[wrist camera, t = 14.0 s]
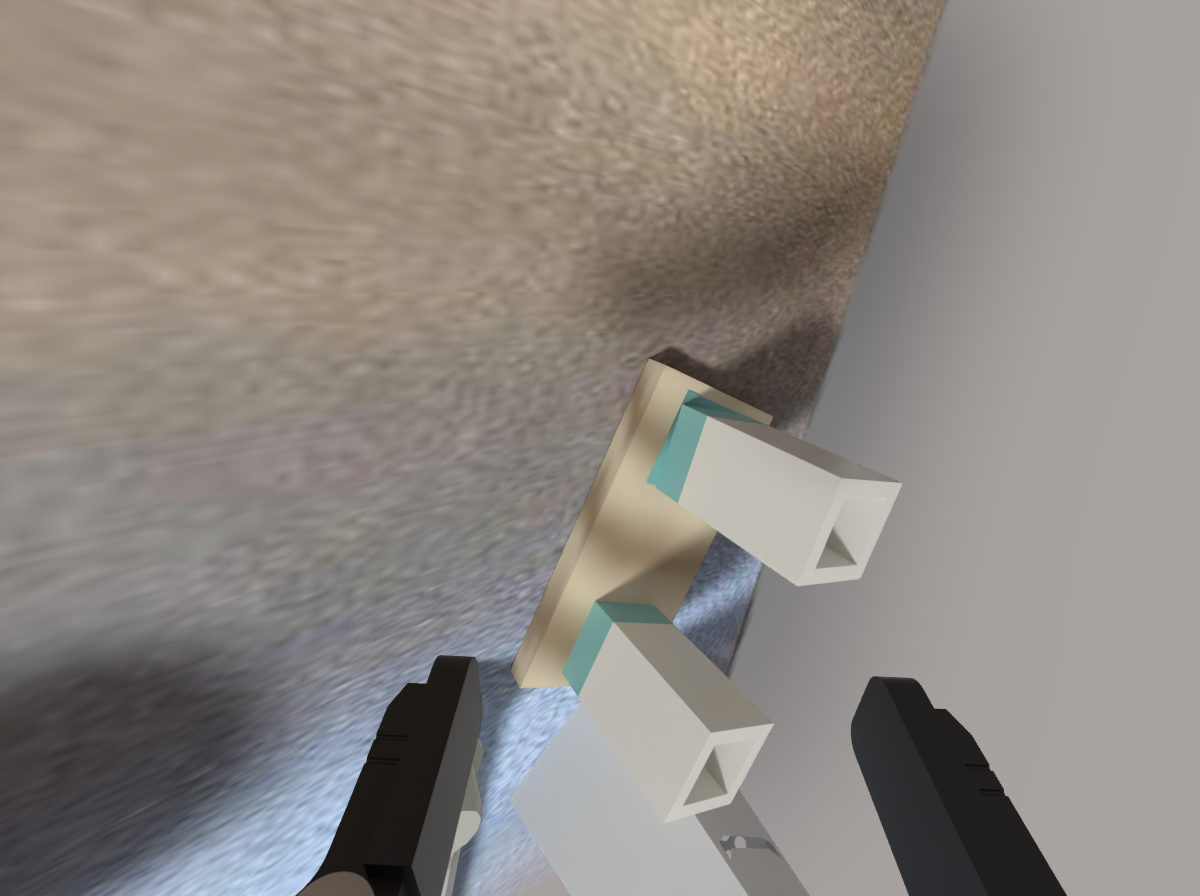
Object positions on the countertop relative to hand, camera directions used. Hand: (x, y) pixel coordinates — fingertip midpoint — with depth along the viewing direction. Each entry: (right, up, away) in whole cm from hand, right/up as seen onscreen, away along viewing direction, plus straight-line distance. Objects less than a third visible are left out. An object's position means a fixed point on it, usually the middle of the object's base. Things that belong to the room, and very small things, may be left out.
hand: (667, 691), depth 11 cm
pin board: (+1, 0, +22) cm, 22 cm away
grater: (-1, -17, +29) cm, 34 cm away
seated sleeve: (-1, -7, +22) cm, 23 cm away
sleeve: (+4, +5, +20) cm, 21 cm away
